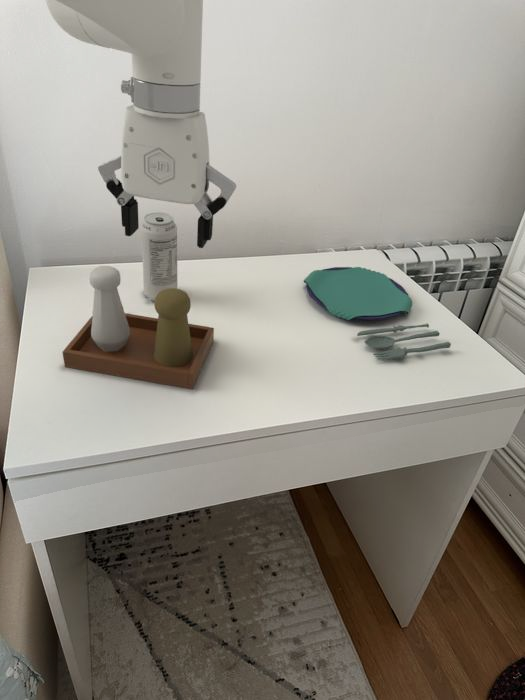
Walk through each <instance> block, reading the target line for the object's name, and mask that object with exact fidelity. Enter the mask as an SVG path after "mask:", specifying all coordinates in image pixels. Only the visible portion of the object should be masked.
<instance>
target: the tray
mask: <svg viewBox="0 0 525 700" xmlns="http://www.w3.org/2000/svg"><path fill="white" fill-rule="evenodd" d="M125 316H126V319H127V322H128V325H129V328H130V336H129V338H128V340H127V342H126V345H125V346H124V347H122V348H121V349H120V350H119V351H113V352H105V351H103V350H102V349H100V348H99V347H98V346H97V345H96V343H95V342H94V340H93V339H92V336H91V328H92V317H93V315H91V317H90V318H89V319H88V320H87V322H86V323H85V324H84V325H83V326H82V328H80V330H79V331H78V332H77V334H76V335H75V336H74V337H73V338H72V340H71V341H70V342H69V343H68V344H67V346H66V347H65V348H64V349H63V351H62V357H63V358H62V359H63V364H64V368H68V369H69V368H71V369H75V370H80V371H87V372H92V373H99V374H103V375H109V376H114V377H119V378H126V379H132V380H139V381H142V382H143V381H144V382H150V383H154V384H160V385H167V386H172V387H176V388H177V387H178V388H182V389H183V388H184V389H188V390H194V388H195V385H196V384H197V381H198V379H199V376H200V374H201V372H202V370H203V367H204V365H205V363H206V360H207V358H208V356H209V353H210V351H211V349H212V346H213V345H214V344H213V343H214V339H215V337H214V335H215V328H214V327H211V326H210V327H209V326H205V325H200V324H199V325H198V324H193V323H188V324H189V331H190V338H191V344H192V351H193V358H192V359H191V361H190V362H188V363H187V364H185V365H182V366H178V367H168V366H163V365H161V364H159V363H158V362H157V361H155V359H154V349H155V340H156V332H157V324H158V317H157V318H156V317H151V316H150V317H149V316H145V315H138V314H132V313H127V312H125Z"/></svg>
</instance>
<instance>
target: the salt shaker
mask: <svg viewBox="0 0 525 700" xmlns="http://www.w3.org/2000/svg"><path fill="white" fill-rule="evenodd" d="M89 284H90V286H91V287H92V288H93V289H94V291H93V305H92V316H93V317H92V316H91V317H92V328H91V336H92V339H93V340H94V342H95V343H96V345H97V346H98V347H99V348H100V349H102V350H103V351H105V352H113V351H119V350H120V349H121V348H122V347H124V346H125V345H126V342H127V340H128V338H129V336H130V328H129V325H128V322H127V319H126V316H125V313H126V312H125V310H124V306H123V303H122V300H121V297H120V293H119V290H118V287H119V286H120V285H121V273H120V271H119V270H118V269H117V268H116V267H115V266H111V265H99V266H96V267H94V268H93V269H92V270H91V271H90V272H89Z"/></svg>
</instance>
